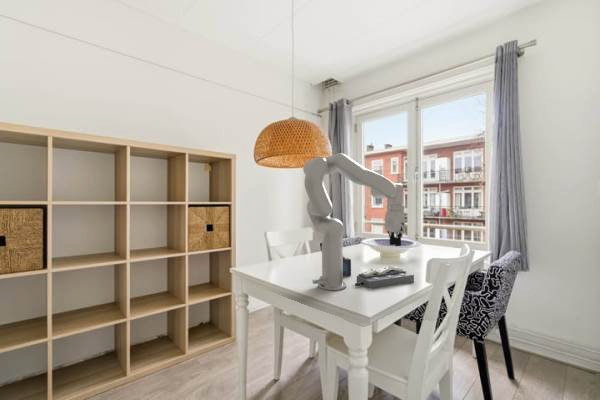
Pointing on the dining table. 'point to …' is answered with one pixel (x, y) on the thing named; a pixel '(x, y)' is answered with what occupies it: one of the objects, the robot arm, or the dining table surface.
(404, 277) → the power strip
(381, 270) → the rocker
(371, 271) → the rocker
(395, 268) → the rocker
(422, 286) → the dining table surface
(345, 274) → the flask
